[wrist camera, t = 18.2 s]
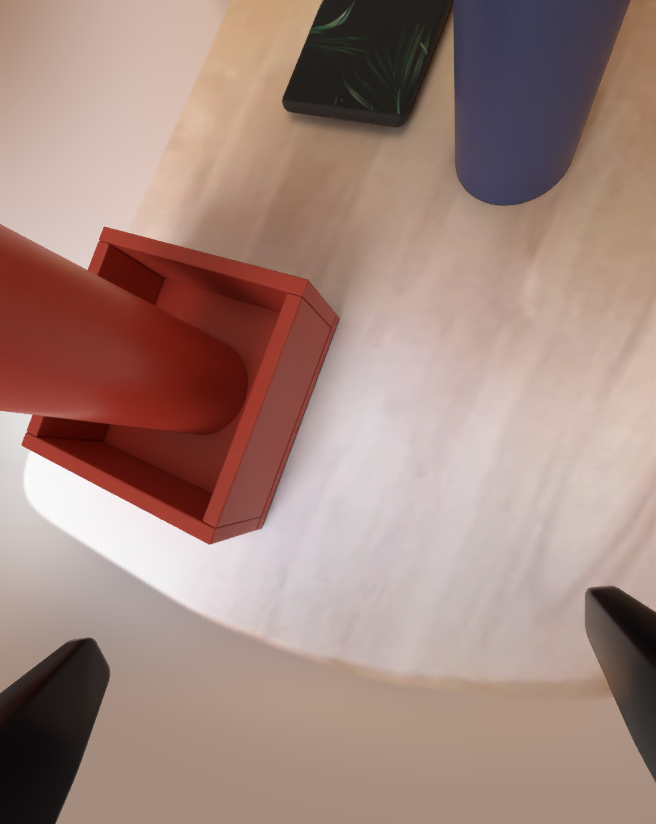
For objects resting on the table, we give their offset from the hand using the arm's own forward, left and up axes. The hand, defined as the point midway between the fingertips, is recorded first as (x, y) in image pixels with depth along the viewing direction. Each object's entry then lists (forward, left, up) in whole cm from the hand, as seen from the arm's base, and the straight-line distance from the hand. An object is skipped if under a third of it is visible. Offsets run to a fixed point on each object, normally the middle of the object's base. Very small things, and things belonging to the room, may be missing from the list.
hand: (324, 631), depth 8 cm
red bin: (-3, +12, -12) cm, 17 cm away
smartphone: (+18, +20, -12) cm, 30 cm away
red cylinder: (-3, +12, -11) cm, 17 cm away
